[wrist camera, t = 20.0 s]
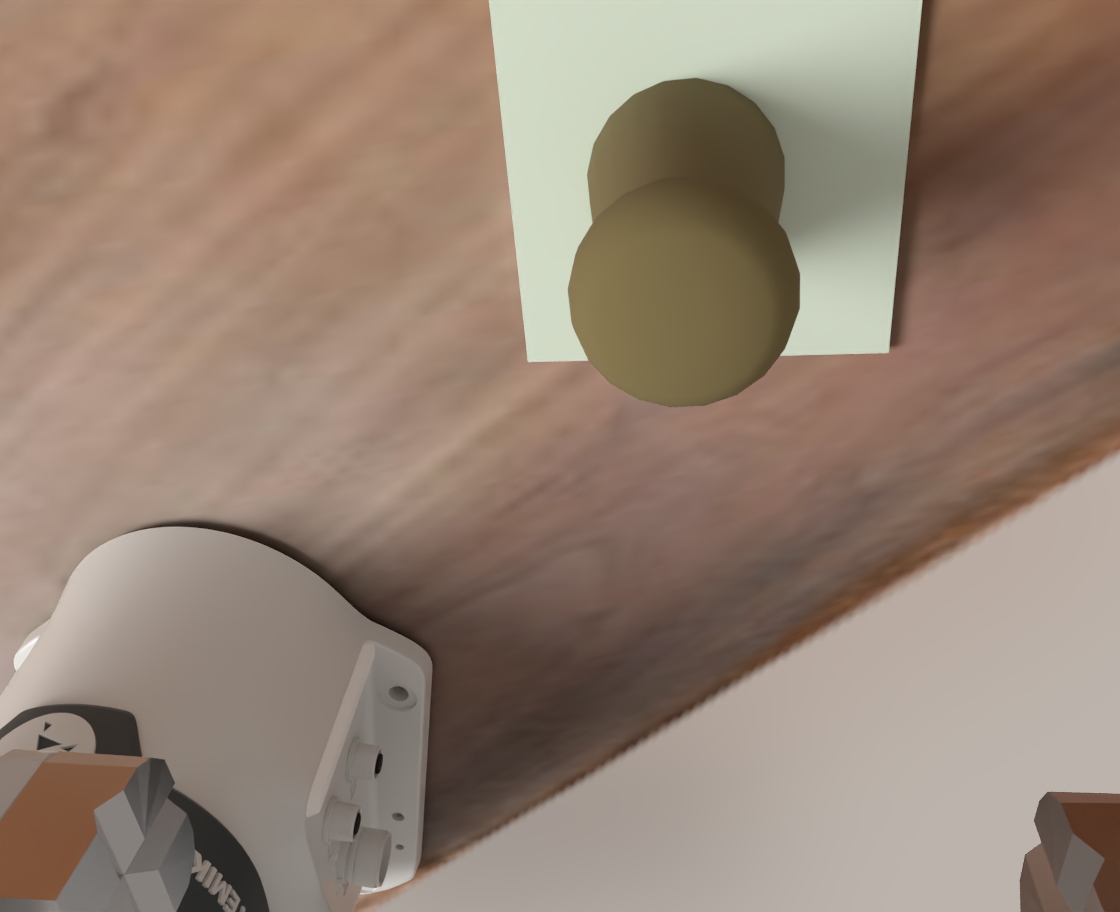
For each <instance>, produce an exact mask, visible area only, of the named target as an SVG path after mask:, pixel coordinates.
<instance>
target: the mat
mask: <svg viewBox="0 0 1120 912" xmlns="http://www.w3.org/2000/svg"><path fill="white" fill-rule="evenodd" d="M489 6H490V15H491V24H492V34H493V43H494V52H495V61H496V71H497V80H498V89H499V98H500V108H501V117H502V126H503V135H504V145H505V154H506V163H507V173H508V182H509V191H510V200H511V210H512V219H513V228H514V237H515V247H516V256H517V265H518V274H519V284H520V293H521V302H522V312H523V321H524V330H525V339H526V349H527V358H528V362H550V361H589V360H588V358H587V356H586V354H585V352H584V350H583V348H582V346H581V344H580V341H579V339H578V337H577V335H576V333H575V331H574V328H573V325H572V323H571V314H570V306H569V297H568V285H569V281H570V276H571V272H572V267H573V263H574V258H575V254H576V251H577V249H578V246H579V245H580V243H581V241H582V240H583V238H584V236H585V235H586V233H587V231H588V230H589V228H590V226H591V225H592V216H591V208H590V200H589V190H588V180H587V172H588V167H589V162H590V158H591V153H592V149H593V144H594V142H595V140H596V139H597V137H598V135H599V134H600V132H601V130H602V128H603V127H604V125H605V123H606V121H607V120H608V118H609V116H610V115H611V114H613V113H614V112H615V111H616V110H617V109H618V108H619V107H620V106H621V105H622V104H624V103H625V102H626V101H627V100H628V99H629V98H630V97H631V96H632V95H634V94H636V93H638V92H640V91H642V90H645V89H647V88H649V87H651V86H654V85H656V84H658V83H660V82H663V81H669V80H679V79H689V78H699V79H703V80H708V81H712V82H716V83H720V84H725V85H728V86H730V87H731V88H733V89H735V90H736V91H738V92H739V93H741V94H742V95H744V96H745V97H747V98H749V99H750V100H752V101H753V102H755V103H756V105H757V106H758V107H759V108H760V110H761V111H762V112H763V114H764V115H765V116H766V117H767V119H768V120H769V121H770V123H771V124H772V125H773V126H774V128H775V131H776V134H777V136H778V139H779V142H780V145H781V148H782V151H783V154H784V157H785V189H784V195H783V200H782V206H781V211H780V217H779V222H778V223H779V224H780V225H781V227H782V228H783V229H784V230H785V232H786V234H787V237H788V240H789V242H790V245H791V248H792V251H793V254H794V257H795V260H796V263H797V266H798V269H799V272H800V310H799V312H798V315H797V318H796V321H795V323H794V326H793V329H792V332H791V335H790V337H789V340H788V343H787V345H786V347H785V350H784V351H783V352H782V353H781V355H780V356H786V355H826V354H865V353H889V344H890V333H891V323H892V312H893V302H894V291H895V281H896V271H897V260H898V250H899V239H900V229H901V219H902V208H903V198H904V187H905V177H906V167H907V156H908V146H909V135H910V125H911V114H912V104H913V94H914V83H915V73H916V62H917V52H918V42H919V31H920V21H921V10H922V0H489Z"/></svg>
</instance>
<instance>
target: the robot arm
mask: <svg viewBox="0 0 1120 912" xmlns="http://www.w3.org/2000/svg"><path fill="white" fill-rule="evenodd" d="M14 667H15V669H16V671H17V672H16V673H15V675H14V676H13V678H12V679H11V681H10V682H9V684H8V685H7V687H6V688H5V690H4V691H3V693H2V695H1V696H0V912H354V909H355V907H356V904H357V901H358V898H359V895H363V894H369V893H375V892H379V891H383V890H387V889H390V888H393V887H396V886H398V885H401V884H403V883H405V882H408V881H409V880H411V879H412V878H413V877H414V875H415V873H416V871H417V868H418V866H419V863H420V859H421V852H422V838H423V821H424V804H425V787H426V770H427V753H428V736H429V719H430V702H431V685H432V661H431V658H430V656H429V655H428V653H427V652H426V651H425V650H424V649H423V648H422V647H420V646H419V645H418V644H416V643H415V642H413V641H411V640H410V639H408V638H406V637H404V636H402V635H400V634H398V633H396V632H394V631H392V630H390V629H388V628H386V627H383V626H381V625H379V624H377V623H375V622H372V621H370V620H369V619H368V618H366V617H365V616H363V615H362V614H361V613H360V612H358V611H357V610H356V609H355V608H354V607H353V606H352V605H351V604H350V603H348V602H347V601H346V600H345V599H344V598H343V597H342V596H341V595H340V594H339V593H338V592H337V591H336V590H335V589H334V588H333V587H331V586H330V585H329V584H328V583H327V582H325V581H324V580H323V579H322V578H320V577H319V576H318V575H316V574H315V573H314V572H312V571H311V570H309V569H308V568H306V567H305V566H303V565H302V564H300V563H298V562H297V561H295V560H293V559H292V558H290V557H288V556H286V555H284V554H282V553H280V552H278V551H276V550H274V549H272V548H270V547H267V546H265V545H263V544H260V543H258V542H255V541H252V540H249V539H246V538H243V537H240V536H237V535H233V534H229V533H225V532H220V531H215V530H210V529H203V528H193V527H159V528H150V529H144V530H139V531H135V532H131V533H128V534H125V535H122V536H119V537H117V538H114V539H112V540H110V541H108V542H106V543H104V544H103V545H101V546H99V547H98V548H96V549H95V550H93V551H92V552H91V553H90V554H89V555H87V556H86V557H85V558H84V559H83V560H82V561H81V563H80V564H79V565H78V566H77V567H76V569H75V570H74V572H73V573H72V575H71V577H70V578H69V580H68V583H67V585H66V587H65V589H64V592H63V594H62V596H61V598H60V601H59V603H58V605H57V607H56V609H55V611H54V613H53V614H52V616H51V618H50V619H49V620H48V621H46V622H45V623H43V624H42V625H41V626H39V627H38V628H36V629H35V630H34V631H33V632H32V633H30V634H29V636H28V637H27V638H26V639H25V641H24V642H23V644H22V645H21V647H20V648H19V650H18V651H17V653H16V655H15V657H14ZM397 686H400V687H402V688H404V689H401V688H399V687H397ZM1034 822H1035V825H1036V828H1037V831H1038V833H1039V836H1040V839H1041V842H1042V843H1041V844H1039V845H1038V846H1037V847H1035V848H1034V849H1032V850H1031V851H1029V852H1028V853H1027V854H1025V858H1024V863H1023V868H1022V872H1021V878H1020V905H1021V912H1120V794H1107V793H1071V792H1047V793H1046V794H1045V796H1044V797H1043V798H1042V799H1041V800H1040V801H1039V805H1038V808H1037V812H1036V816H1035V819H1034Z"/></svg>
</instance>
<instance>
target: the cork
mask: <svg viewBox="0 0 1120 912" xmlns="http://www.w3.org/2000/svg"><path fill="white" fill-rule="evenodd" d="M587 180H588V190H589V200H590V208H591V216H592V225H591V226H590V228H589V230H588V231H587V233H586V235H585V236H584V238H583V240H582V241H581V243H580V245H579V246H578V249H577V251H576V254H575V258H574V263H573V267H572V272H571V276H570V281H569V285H568V297H569V306H570V314H571V323H572V325H573V328H574V331H575V333H576V335H577V337H578V339H579V341H580V344H581V346H582V348H583V350H584V352H585V354H586V356H587V358H588V360H589V361H590V362H591V363H592V364H593V366H594V367H595V368H596V369H597V370H598V371H599V372H600V373H601V374H602V375H603V376H604V377H605V378H606V379H607V380H608V381H609V382H610V383H611V384H612V385H614V386H616V387H618V388H619V389H621V390H623V391H625V392H626V393H628V394H630V395H632V396H634V397H635V398H637V399H639V400H643V401H647V402H652V403H656V404H660V405H664V406H669V407H683V406H704V405H708V404H711V403H714V402H716V401H719V400H722V399H725V398H728V397H731V396H734V395H737V394H738V393H740V392H741V391H743V390H744V389H746V388H747V387H748V386H750V385H751V384H753V383H754V382H756V381H757V380H759V379H760V378H761V377H763V376H764V375H765V374H766V373H767V371H768V370H769V369H770V367H771V366H772V365H773V364H774V362H775V361H776V360H777V359H778V357H779V356H780V355H781V353H782V352H783V351H784V350H785V347H786V345H787V343H788V340H789V337H790V335H791V332H792V329H793V326H794V323H795V321H796V318H797V315H798V312H799V310H800V272H799V269H798V266H797V263H796V260H795V257H794V254H793V251H792V248H791V245H790V242H789V240H788V237H787V234H786V232H785V230H784V229H783V228H782V227H781V225H780V224H779V223H778V222H779V217H780V211H781V206H782V200H783V195H784V189H785V157H784V154H783V151H782V148H781V145H780V142H779V139H778V136H777V134H776V131H775V128H774V126H773V125H772V124H771V123H770V121H769V120H768V119H767V117H766V116H765V115H764V114H763V112H762V111H761V110H760V108H759V107H758V106H757V105H756V103H755V102H753V101H752V100H750V99H749V98H747V97H745V96H744V95H742V94H741V93H739V92H738V91H736V90H735V89H733V88H731V87H730V86H728V85H725V84H720V83H716V82H712V81H708V80H703V79H699V78H689V79H679V80H669V81H663V82H660V83H658V84H656V85H654V86H651V87H649V88H647V89H645V90H642V91H640V92H638V93H636V94H634V95H632V96H631V97H630V98H629V99H628V100H627V101H626V102H625V103H624V104H622V105H621V106H620V107H619V108H618V109H617V110H616V111H615V112H614V113H613V114H611V115H610V116H609V118H608V120H607V121H606V123H605V125H604V127H603V128H602V130H601V132H600V134H599V135H598V137H597V139H596V140H595V142H594V144H593V149H592V153H591V158H590V162H589V167H588V172H587Z"/></svg>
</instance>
